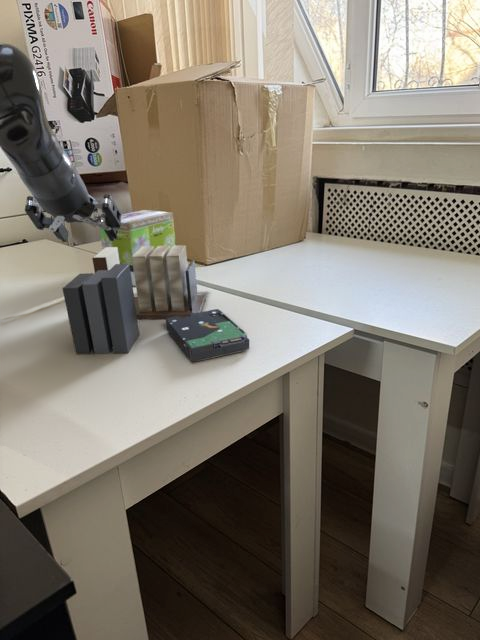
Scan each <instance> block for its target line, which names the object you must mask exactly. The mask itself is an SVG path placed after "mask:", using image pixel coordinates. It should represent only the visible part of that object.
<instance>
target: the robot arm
mask: <svg viewBox="0 0 480 640" xmlns="http://www.w3.org/2000/svg"><path fill="white" fill-rule="evenodd" d="M43 99H44V98H43V92H42V87H41V83H40V78H39V75H38V72H37V70H36V67H35V65H34V63H33V61H32V60H31V58H30V56H28V55H27V54H26V53H25V52H24V51H23V50H22V49H20V48H19V47H18V46H16V45H13V44H10V43H0V149H1V151H2V152H3V153H4V155H5V156H6V158H7V159H8V160H9V162H10V164H11V165H12V166H13V168H14V169H15V170H16V171H17V174H18V176H19V178H20V180H21V181H22V183H23V184H24V186H25V187H26V188H27V190H28V192H30V194H31V195H32V196H31V195H28V196H26V199H25V206H24V212H25V213H26V216H27V217H28V218H29V219H30V221H31V222H32V224H33V225H34V226H35V228H36V229H37V230H40V231H43V230H45V229H48V231H50V232H52V233H53V234H54V236H55V237H56V239H58V240H60V241H61V242H62V243H68V241H69V236H70V235H69V234H70V233H69V230H68V229H67V228H66V226H65V225H64V223H63V222H66V223H86V224H87V225H89V226H91V227H94V228H96V227H98V228H100V227H101V228H103V229H104V231H105V233H106V234H107V236H108V238H109V240H110V241H115V238H117V233H118V229H117V228H120V227H121V217H122V214H123V213H122V212H121V210H120V208H119V207H118V205H117V204H116V202H115V200H114V199H113V196H112V195H110V194H108V193H105V194H104V195H103V197H102V198H98V199H95V198H94V197H93V196H92V195H90V194H89V192H88V189H87V187H86V184H85V182H84V180H83V179H82V178H81V175H80V174H79V171H78V170H77V168H76V166H75V165H74V163H73V161H72V159H71V157H70V155H69V154H68V153H67V152H66V150H65V149H64V148H63V146H62V145H61V143H60V142H59V139H58V138H57V136H56V135H55V132H54V131H53V129H52V127H51V124H50V122H49V120H48V117H47V113H46V110H45V106H44V100H43ZM45 213H47V214H48V215H50V216H49V217H48V216H46V214H45ZM91 216H92V217H91ZM102 218H104V219H105V222H103V221H102V220H101V219H102Z"/></svg>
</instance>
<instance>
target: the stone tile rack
mask: <svg viewBox="0 0 480 640" xmlns="http://www.w3.org/2000/svg"><path fill="white" fill-rule="evenodd" d="M175 245H176V244H175ZM132 260H133V268H134V275H135V282H136V286H135V288H136V294H137V295H136V296H135V295H134V300H135V307H136V314H137V321H138V320H166V318H171V317H176V316H178V317H180V318H184V317H186V316H187V315H188V314H192V313H198V312H203V311H202V310H203V308H204V305H205V302H206V300H207V299H206V298H207V297H206V294H198V284H197V273H196V263H195V261H196V260H195V259H191V260H190V262H189V264H188V256H187V246H186V244H182V245H181V244H180V245H178V244H177V245H176V246H173V247H172V249H171V250H170V246H158V247H157V248H156V249H155V250H154V246H142V247H141V248H140V249H139V250H138V251H137V252H136V253H135V254H134V255H133V256H132Z"/></svg>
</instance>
